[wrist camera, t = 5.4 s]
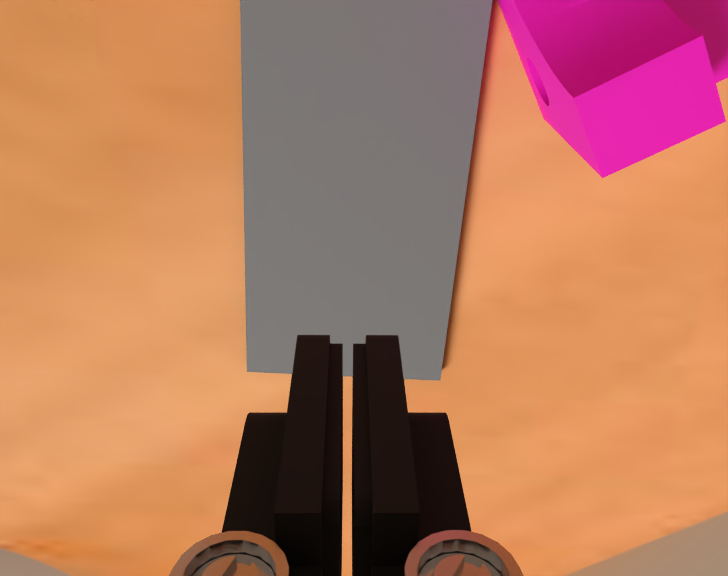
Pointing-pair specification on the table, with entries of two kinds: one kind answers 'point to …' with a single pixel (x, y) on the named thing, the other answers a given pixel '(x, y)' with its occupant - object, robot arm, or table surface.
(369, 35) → the felt pad
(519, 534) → the table surface
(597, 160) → the toy block
